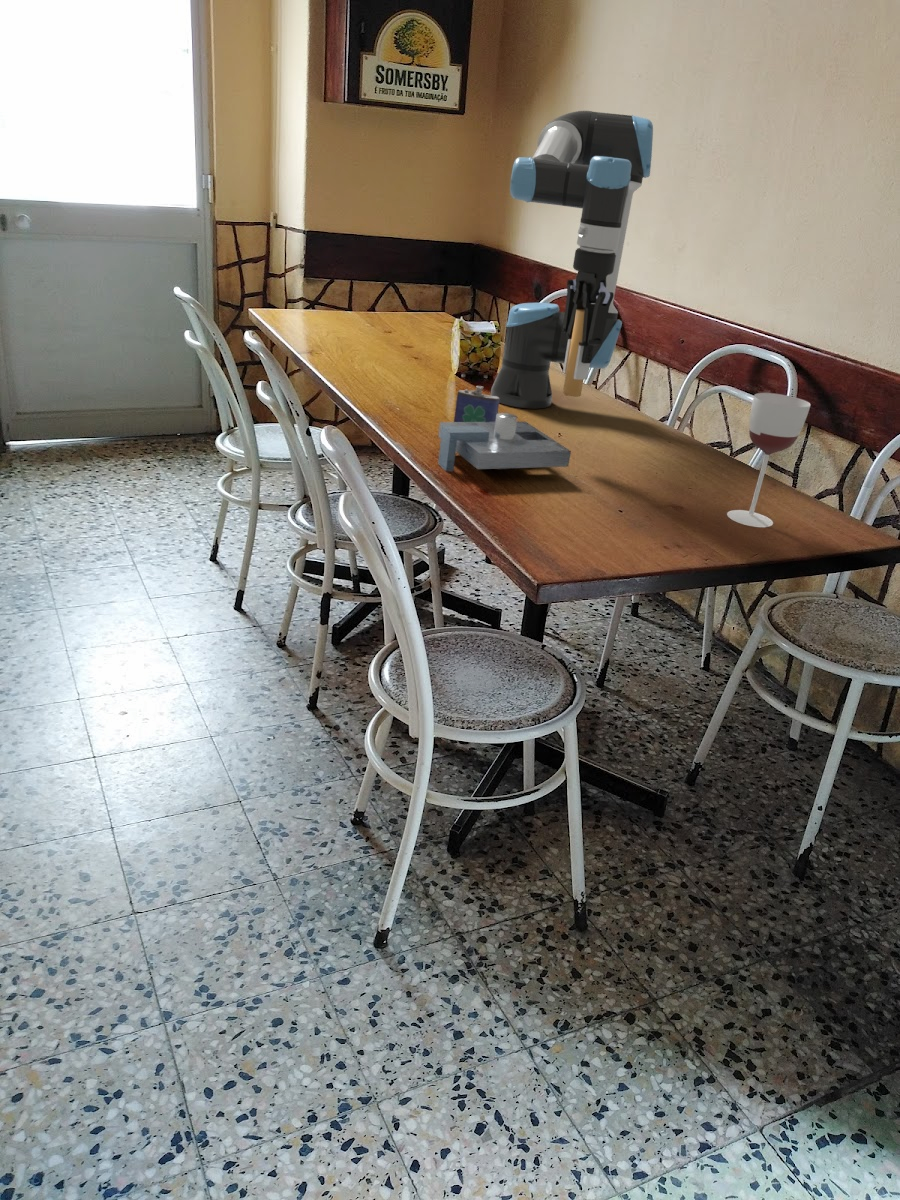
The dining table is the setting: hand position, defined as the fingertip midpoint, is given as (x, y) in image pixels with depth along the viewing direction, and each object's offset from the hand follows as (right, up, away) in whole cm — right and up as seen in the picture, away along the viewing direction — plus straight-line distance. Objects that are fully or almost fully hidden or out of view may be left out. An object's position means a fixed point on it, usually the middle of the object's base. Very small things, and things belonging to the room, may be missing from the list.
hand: (574, 375), depth 181 cm
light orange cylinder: (0, -3, +2) cm, 4 cm away
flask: (-20, -9, +16) cm, 27 cm away
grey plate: (-16, -18, -1) cm, 24 cm away
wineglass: (+30, -29, -12) cm, 44 cm away
